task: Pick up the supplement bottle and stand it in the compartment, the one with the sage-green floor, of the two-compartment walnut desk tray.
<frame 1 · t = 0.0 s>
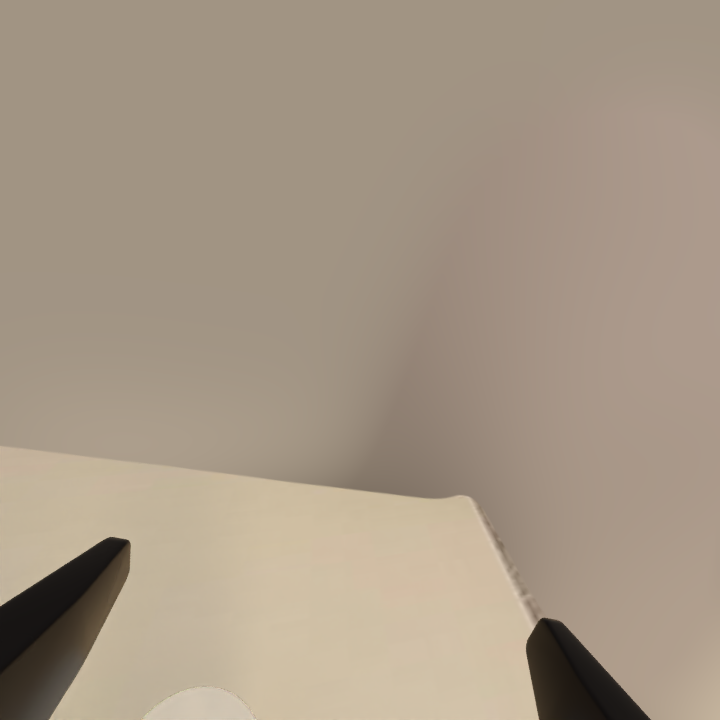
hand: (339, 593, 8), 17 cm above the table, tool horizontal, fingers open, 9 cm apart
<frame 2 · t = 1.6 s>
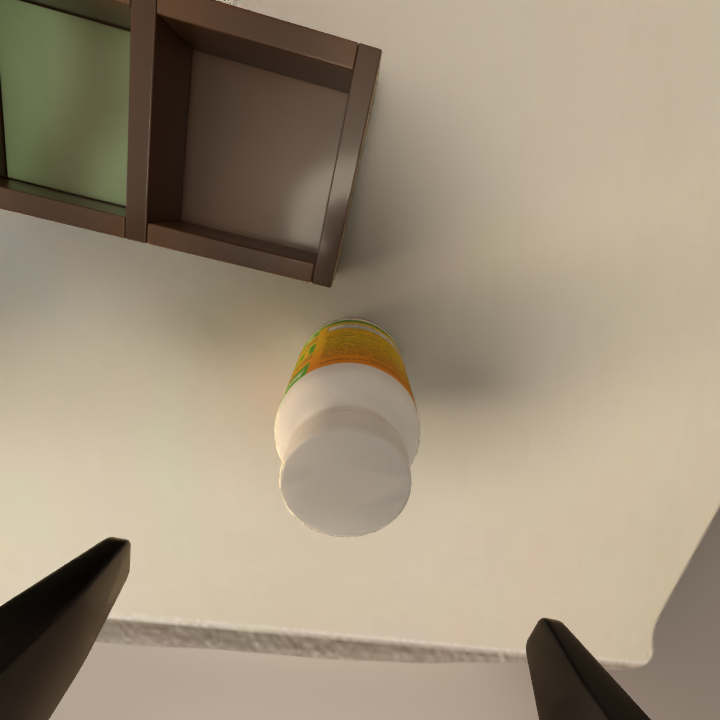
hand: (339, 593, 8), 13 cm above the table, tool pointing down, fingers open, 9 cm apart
supplement bottle: (351, 364, 21), on the table
organizer: (181, 140, 17), on the table
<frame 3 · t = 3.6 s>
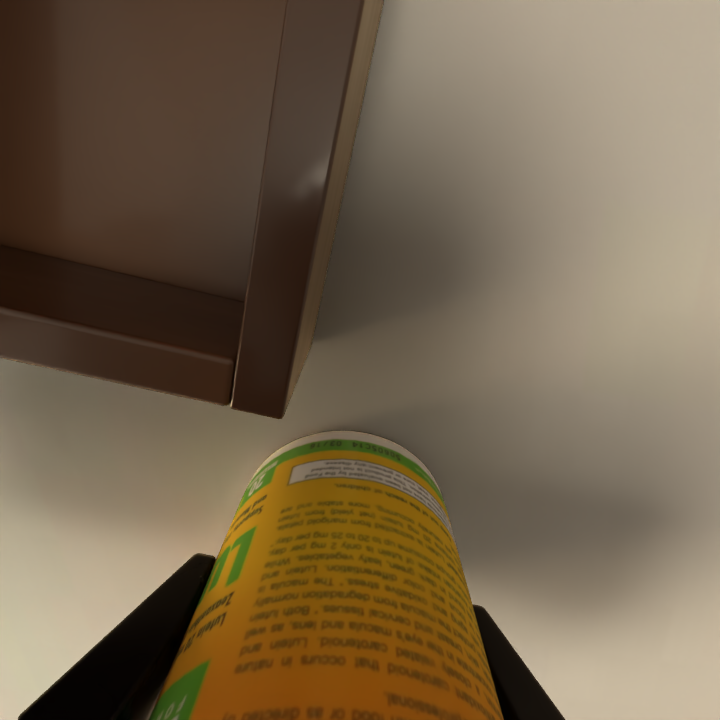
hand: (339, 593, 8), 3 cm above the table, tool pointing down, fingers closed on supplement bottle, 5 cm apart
supplement bottle: (344, 504, 11), on the table, touching gripper
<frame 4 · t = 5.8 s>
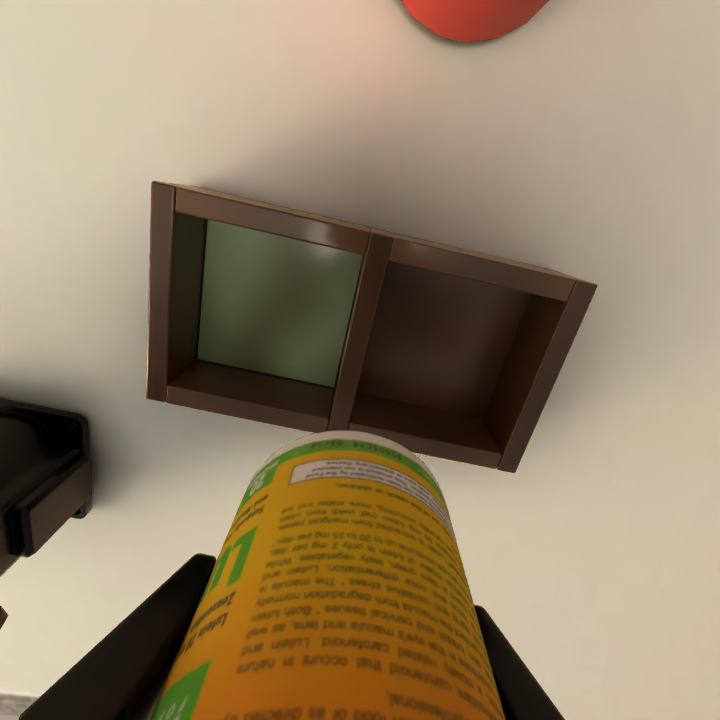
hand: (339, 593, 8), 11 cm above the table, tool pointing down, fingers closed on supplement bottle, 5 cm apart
supplement bottle: (345, 504, 11), point 9 cm above the table, touching gripper
organizer: (358, 321, 18), on the table
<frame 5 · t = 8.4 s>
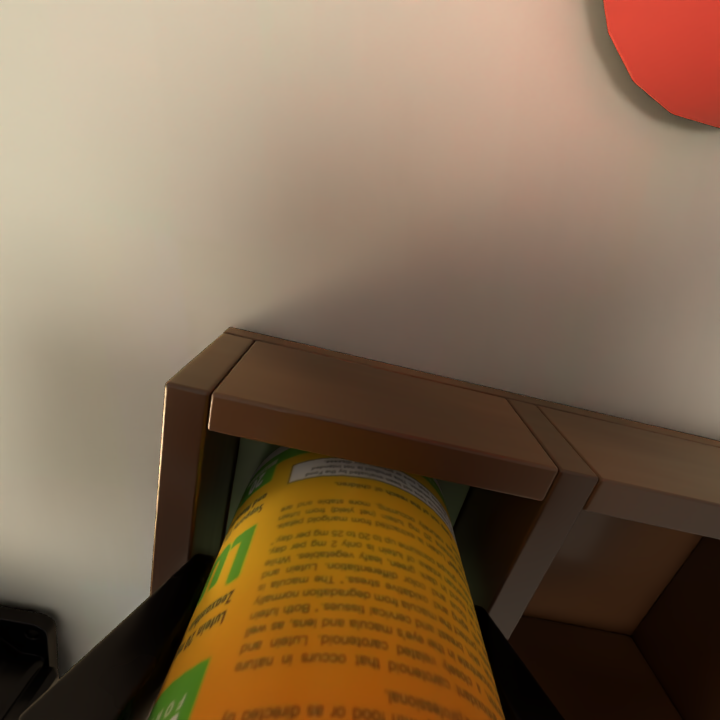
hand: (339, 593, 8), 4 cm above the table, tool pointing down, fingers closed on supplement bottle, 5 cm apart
supplement bottle: (345, 503, 11), point 1 cm above the table, touching gripper
organizer: (464, 508, 12), on the table
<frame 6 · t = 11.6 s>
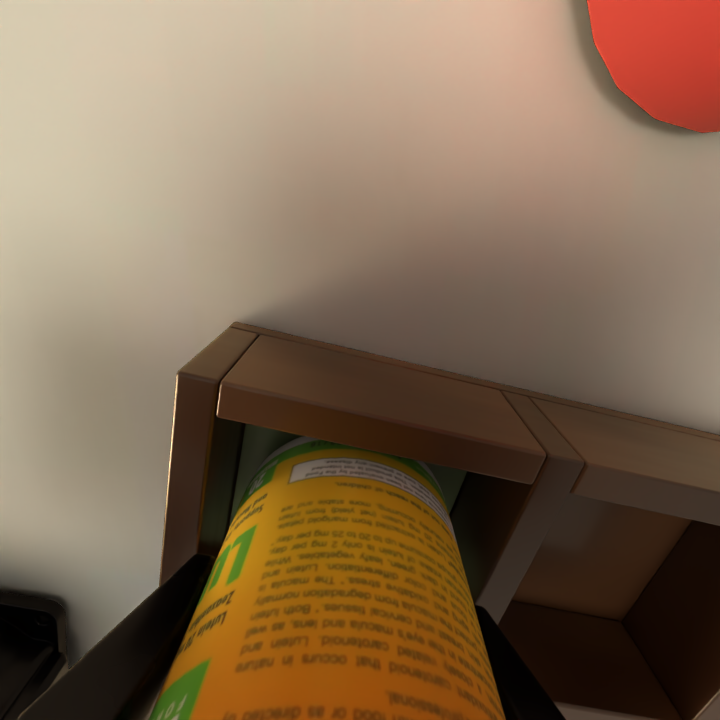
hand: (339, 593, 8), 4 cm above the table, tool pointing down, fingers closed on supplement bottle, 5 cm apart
supplement bottle: (345, 503, 11), point 1 cm above the table, touching gripper
organizer: (460, 497, 12), on the table
when the fingers open (4 cm above the table, at t = 14.7 s): supplement bottle moves 1 cm, resting on organizer.
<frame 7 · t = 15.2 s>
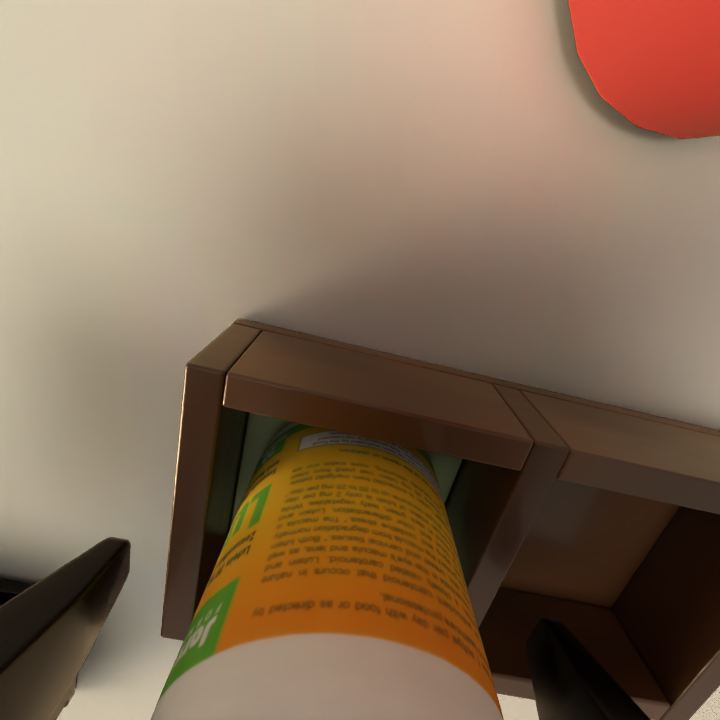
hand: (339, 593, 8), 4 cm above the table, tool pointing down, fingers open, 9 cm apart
supplement bottle: (346, 477, 12), point 1 cm above the table, touching organizer
organizer: (455, 488, 13), on the table
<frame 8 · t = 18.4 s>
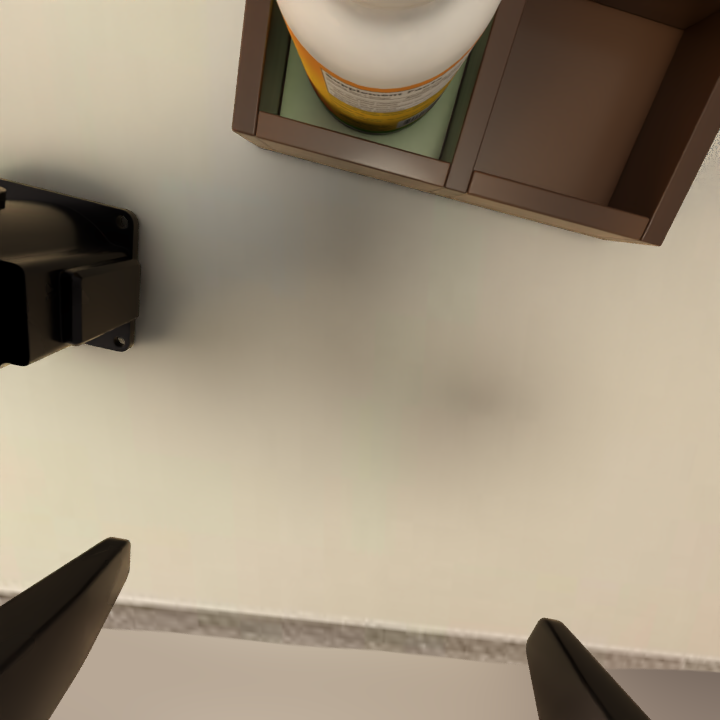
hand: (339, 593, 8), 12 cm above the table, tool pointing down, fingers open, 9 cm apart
supplement bottle: (378, 55, 14), point 1 cm above the table, touching organizer
organizer: (469, 85, 15), on the table
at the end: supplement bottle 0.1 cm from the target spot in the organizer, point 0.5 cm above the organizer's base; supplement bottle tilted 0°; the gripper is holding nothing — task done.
